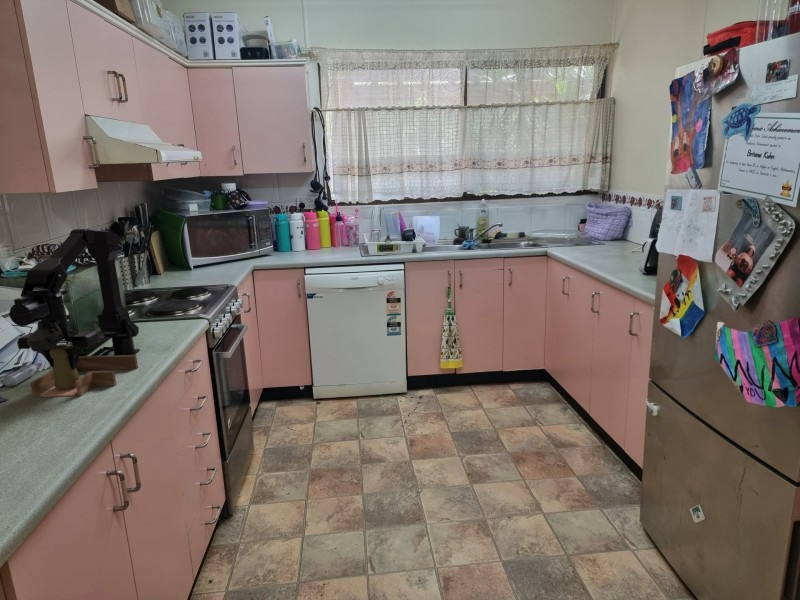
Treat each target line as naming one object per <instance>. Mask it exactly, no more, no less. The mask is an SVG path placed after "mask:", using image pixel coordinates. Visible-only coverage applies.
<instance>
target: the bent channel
mask: <svg viewBox="0 0 800 600" xmlns="http://www.w3.org/2000/svg"><path fill="white" fill-rule="evenodd" d="M137 357H138V356H137V354H134V355H116V356H111V355H86V356H85V355H83V356H82V355H81V356H80V355H79V358H78V362H77V365H76V370H77V372H78V371H89V372H87V373H86V374H85V375H84V376H81V377H79V378H80V379H79V380H77V381H76V382H75V384H76V389H77V394H76V395H77V396H78V397H81V396H83V395H85V394H86V393H87V391H88V392H89V391H90V390H92V389H93V388H95V387H115V386H117V380H116V374H115V371H114V370H137V369H138V368H139V364H138V359H137ZM108 369H109V370H108ZM29 384H30V388H31V393H32V397H33V398H37V397H39V396H40V395H42V394H43V393H45V392H46V391H48V390H49V389H51V388H53V387H54V386H55V380H54V369H53V368H52V369H51V370H50V371H47V372H46V373H44V374H42V375H41V376H39V377H38V378H36V379H34V380H32V381H31V382H30V383H29Z"/></svg>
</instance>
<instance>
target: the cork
mask: <svg viewBox="0 0 800 600" xmlns="http://www.w3.org/2000/svg"><path fill="white" fill-rule="evenodd" d="M67 347H68V343H59V344H57V345H56V346H53V347H52V348H51V349H50V352H49V354H50V356H51V358H53V362H54V380H55V387H56V388H67V387H71V386H74V385H76V384H75V382H76V381H77V380H79V379H80V378H81V377H80V375H79V372H78V371H77V370H76V368H75V369H74V370H72V368H71V367H70V363H69V358H68V353H67V352H66V351H64V349H65V348H67Z"/></svg>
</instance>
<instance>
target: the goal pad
mask: <svg viewBox="0 0 800 600" xmlns="http://www.w3.org/2000/svg"><path fill="white" fill-rule="evenodd" d="M76 395H78V394H77V389H76V385H74V386H71V387H67V388H56V387H55V386H53V387H52V388H50V389H48V390H47V391H45V392H44V393H42V394H41V395H39V396H40V397H41V398H42V397H48V398H49V397H50V398H51V397H75V396H76Z"/></svg>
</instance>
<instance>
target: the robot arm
mask: <svg viewBox="0 0 800 600" xmlns="http://www.w3.org/2000/svg"><path fill="white" fill-rule="evenodd" d="M119 243H120V241H119V237H118V235H117V234H116V233H115V232H114V231H113V230H93V229H90V228H75V229H72V230H71V231H70V233H69V235H68V236H67V238H66V239H65V240H63V242H62V243H61V244H60V246H59V247H58V248H56V250H55V251H54V252H53V254H51V256H50V257H49V258H47V259H46V260H43V261H41V262H39V263H37V264H35V265H34V266H32V267H31V268H30V269H29V270H28V271H27V273H26V277H25V281H24V284H23V288H22V289H21V293H20V298H18V297H17V298H15V299H14V300H13V302H14V304H13V305H11V307H10V310H9V312H8V314H9V315H8V316H9V318H10V320H11V322H13V323H14V324H15V325H16V326H18V327H26V326H29V325H32V324H34V323H36V322H37V329H36V330H35V331H33V332H29V333H27V334H24V335H23V336H21V337H19V338H18V339H17V341H16V343H17V348H18V350H29V349H31V351H32V352H37V353H39V354H41V355H42V356H43V357H44V358H45V360H46V361H47V362H48V363H49V365H50V367H51V368H52V370H53V369H54V362H53V358H51V356H50V354H49V352H50V349H51V348H52V347H53V346H56V345H59V344H68V347H67V348H65V349H64V351H66V352H67V353H68V358H69V363H70V367H71V368H72V370H74V369H75V368H76V365H77V362H78V358H79V356H80V354H81V352H82V350H83V348H89V347H91V346H92V345H94V344H95V343H97V342H98V341H100V337H99V334H98V332H97V331H95V330H85V331H84V330H83V331H81V332H79V333H77V334H75V335H72V334H74V329H70V326H69V320H70V319H71V315H70V314H67V311H66V307H65V303H64V301H65V300H64V298H63V296H64V295H67V294H68V293H69V291H68V290H66V289H65V288H63V286H64V283H66V281H67V278H68V269H69V268H70V267H71V265H72V264H74V262H75V260H76V259H77V258H78V257H79V256H80V254H81V253H82V252H83V251H84V249H87V252H88V254H89V255H90V256H91V257H92V258H93V260H94V261H95V264H96V270H97V274H98V275H97V276H98V281H99V288H100V294H101V299H102V305H103V308H102V310H101V312H100V313H99V314H97V322H98V328H99V329H100V332H101V333H102V335H103V337H104V339H111V342H112V349H113V350H112V351H113V354H114V355H115V356H116V355H137V353H139V351H140V350H141V349H140V348H135V343H134V338H135V337H137V336H138V334H139V329H140V328H139V326H138V325H137V324H135V323H134V322H133V321H132V319H131V317H130V313H129V311H128V310H127V309H126V308H125V307H124V306H123V304H122V298H121V292H120V287H119V286H120V284H119V279H118V273H117V267H116V257H117V255H118V253H119V250H120V246H119V245H120V244H119Z"/></svg>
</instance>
